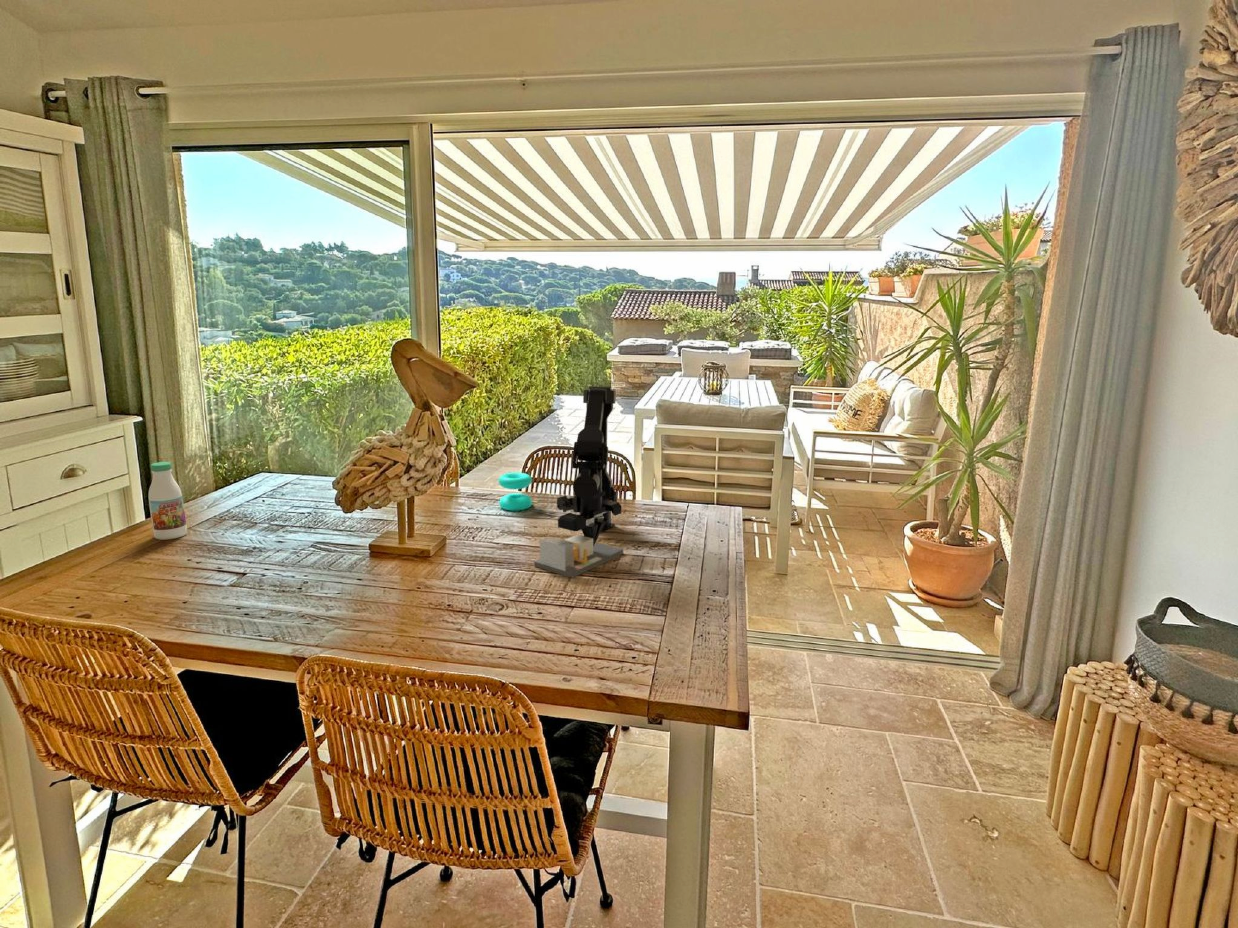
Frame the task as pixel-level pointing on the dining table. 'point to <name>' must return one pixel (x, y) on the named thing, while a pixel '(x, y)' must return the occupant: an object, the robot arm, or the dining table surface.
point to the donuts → (515, 500)
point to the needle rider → (579, 558)
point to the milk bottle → (166, 504)
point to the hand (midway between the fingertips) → (590, 547)
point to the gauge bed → (596, 553)
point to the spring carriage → (582, 544)
